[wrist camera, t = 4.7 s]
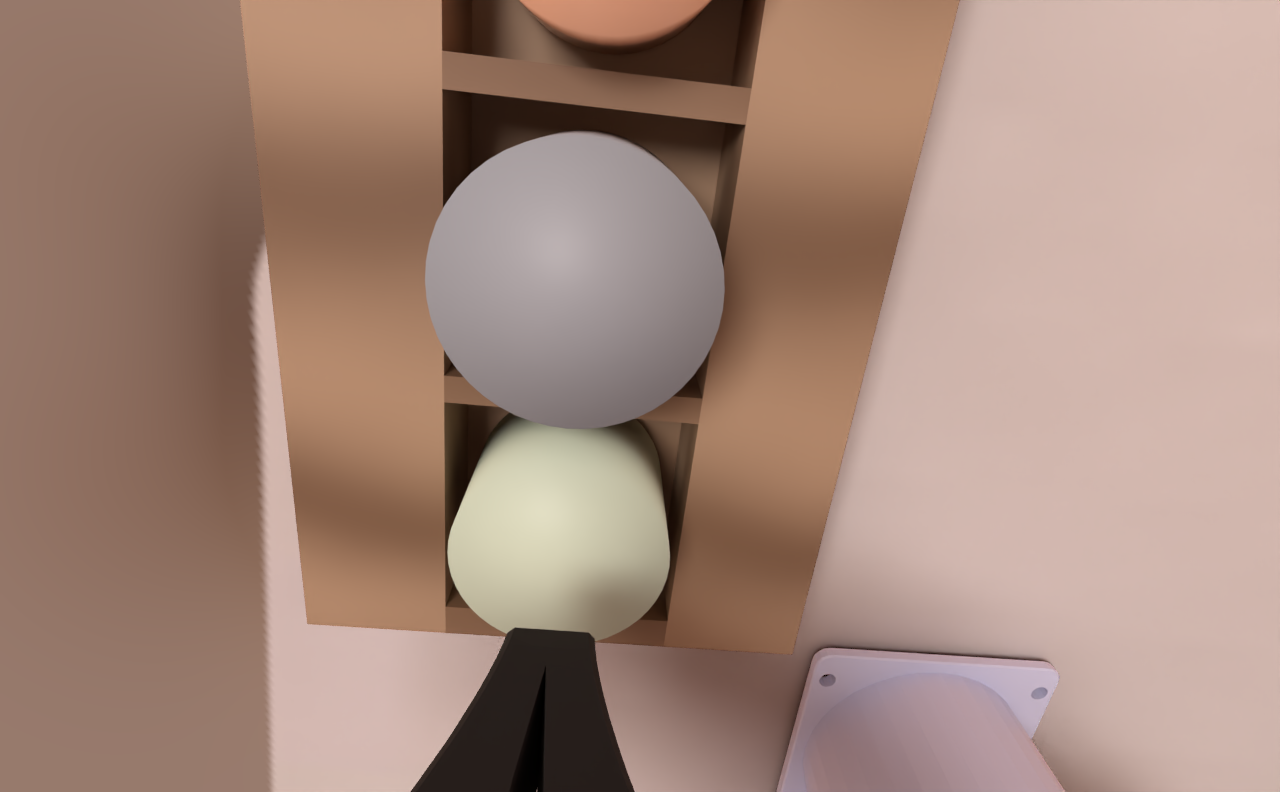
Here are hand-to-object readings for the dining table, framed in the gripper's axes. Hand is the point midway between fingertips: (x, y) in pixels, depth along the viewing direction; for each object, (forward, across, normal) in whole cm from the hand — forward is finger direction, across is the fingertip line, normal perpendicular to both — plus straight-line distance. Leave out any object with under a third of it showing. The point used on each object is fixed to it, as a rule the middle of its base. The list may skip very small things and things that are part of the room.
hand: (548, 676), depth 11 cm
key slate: (+5, 0, -6) cm, 8 cm away
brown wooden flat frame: (+8, 0, -6) cm, 10 cm away
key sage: (+6, 0, 0) cm, 6 cm away
